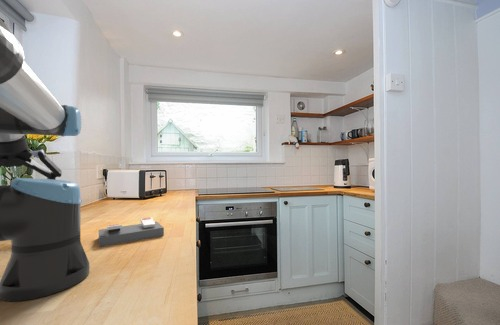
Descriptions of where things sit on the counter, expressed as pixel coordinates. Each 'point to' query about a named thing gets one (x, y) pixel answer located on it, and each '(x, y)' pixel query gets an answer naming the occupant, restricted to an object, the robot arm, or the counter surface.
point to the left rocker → (114, 226)
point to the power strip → (129, 234)
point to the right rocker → (147, 222)
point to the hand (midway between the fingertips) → (23, 197)
